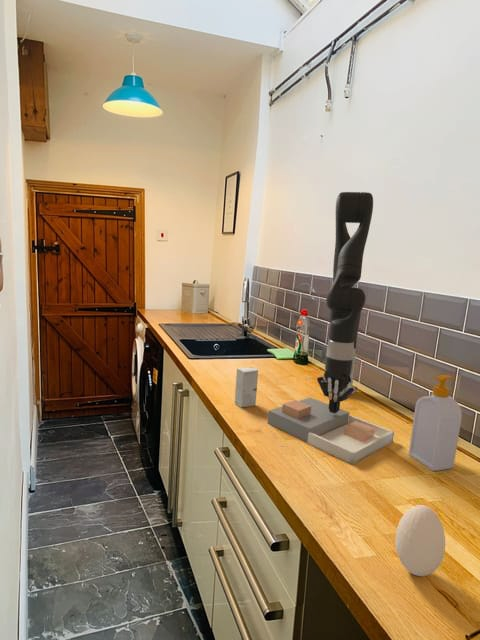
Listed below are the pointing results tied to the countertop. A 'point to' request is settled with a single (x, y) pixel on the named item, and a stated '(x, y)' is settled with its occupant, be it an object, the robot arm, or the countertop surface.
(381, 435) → the tray
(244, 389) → the skincare box
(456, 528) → the countertop surface
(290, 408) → the tile
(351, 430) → the tile
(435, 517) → the egg
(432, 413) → the soap bottle
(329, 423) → the board
